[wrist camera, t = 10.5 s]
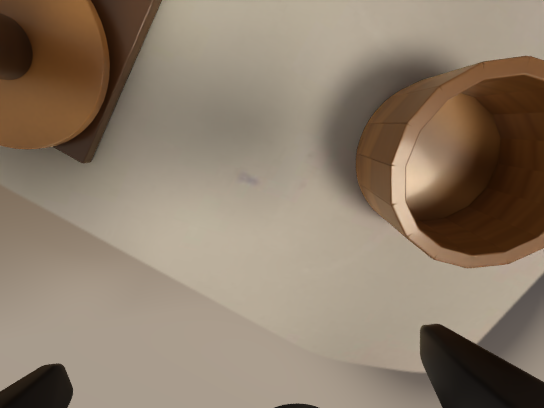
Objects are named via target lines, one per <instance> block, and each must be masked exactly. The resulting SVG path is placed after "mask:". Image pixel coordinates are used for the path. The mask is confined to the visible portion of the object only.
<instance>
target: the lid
mask: <svg viewBox="0 0 544 408" xmlns="http://www.w3.org/2000/svg"><path fill="white" fill-rule="evenodd" d="M109 71H110V61H109V50H108V45H107V40H106V35H105V32H104V29H103V26H102V23H101V20H100V18H99V16H98V13H97V11H96V9H95V7H94V5H93V3H92V2H91V0H0V145H1V146H5V147H10V148H15V149H40V148H47V147H52V146H56V145H59V144H62V143H65V142H67V141H69V140H71V139H72V138H74V137H76V136H77V135H78V134H80V133H81V132H82V131H84V130H85V129H86V128H87V126H88V125H89V124H90V123H91V122H92V121H93V119H94V118H95V116H96V115H97V114H98V112H99V110H100V108H101V106H102V104H103V101H104V98H105V95H106V92H107V88H108V82H109Z"/></svg>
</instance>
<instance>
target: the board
mask: <svg viewBox="0 0 544 408" xmlns="http://www.w3.org/2000/svg"><path fill="white" fill-rule="evenodd" d="M161 1H162V0H91V2H92V3H93V5H94V7H95V9H96V11H97V13H98V16H99V18H100V20H101V23H102V26H103V29H104V32H105V35H106V40H107V45H108V50H109V61H110V71H109V82H108V88H107V92H106V95H105V98H104V101H103V104H102V106H101V108H100V110H99V112H98V114H97V115H96V116H95V118H94V119H93V121H92V122H91V123H90V124H89V125H88V126H87V128H86V129H85V130H84V131H82V132H81V133H80V134H78V135H77V136H76V137H74V138H72V139H71V140H69V141H67V142H65V143H62V144H59V145H56V146H52V147H54V148H56V149H58V150H59V151H61V152H63V153H65V154H67V155H68V156H70V157H72V158H74V159H76V160H77V161H79V162H81V163H88V162H91V160H92V158H93V156H94V153H95V151H96V149H97V147H98V144H99V142H100V140H101V137H102V135H103V133H104V131H105V128H106V126H107V124H108V122H109V119H110V117H111V115H112V112H113V110H114V108H115V106H116V103H117V101H118V99H119V96H120V94H121V92H122V90H123V87H124V85H125V83H126V80H127V78H128V76H129V74H130V71H131V69H132V67H133V64H134V62H135V60H136V58H137V55H138V53H139V51H140V49H141V46H142V44H143V42H144V39H145V37H146V35H147V33H148V30H149V28H150V26H151V23H152V21H153V19H154V17H155V14H156V12H157V10H158V7H159V5H160V3H161Z"/></svg>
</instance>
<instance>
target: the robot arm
mask: <svg viewBox="0 0 544 408" xmlns="http://www.w3.org/2000/svg"><path fill="white" fill-rule="evenodd" d="M420 356H421V360H422V363H423V366H424V368H425V370H426V372H427V375H428V377H429V379H430V381H431V383H432V385H433V388H434V390H435V392H436V394H437V396H438V398H439V401H440V403H441V405H442V407H443V408H544V382H543V381H541V380H539V379H537V378H535V377H534V376H532V375H530V374H528V373H527V372H525V371H523V370H521V369H519V368H518V367H516V366H514V365H512V364H511V363H509V362H507V361H505V360H503V359H502V358H499V357H498V356H496V355H494V354H493V353H491V352H489V351H487V350H485V349H483V348H482V347H480V346H478V345H477V344H475V343H473V342H471V341H469V340H468V339H466V338H464V337H462V336H460V335H459V334H457V333H455V332H453V331H451V330H450V329H448V328H446V327H444V326H442V325H440V324H430V325H423V326H422V327H421V329H420ZM72 395H73V388H72V385H71V382H70V380H69V377H68V375H67V372H66V370H65V367H64V366H63V365H62V364H49V365H44V366H41V367H40V368H38V369H36V370H35V371H33V372H31V373H30V374H28V375H27V376H25V377H23V378H22V379H20V380H18V381H17V382H15V383H13V384H12V385H10V386H9V387H7V388H5V389H4V390H2V391H0V408H67V407H68V405H69V403H70V401H71V399H72Z"/></svg>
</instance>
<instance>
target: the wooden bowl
mask: <svg viewBox="0 0 544 408" xmlns="http://www.w3.org/2000/svg"><path fill="white" fill-rule="evenodd" d="M356 173H357V179H358V183H359V186H360V189H361V191H362V194H363V195H364V197H365V199H366V200H367V202H368V203H369V204H370V206H371V207H372V209H373V210H374V211H376V212H377V213H378V214H379V215H380V216H381V217H383V218H384V219H385V220H386V221H387V222H388V223H390V224H391V225H392V226H393V227H394V228H395V229H397V230H398V231H399V232H400V233H401V234H402V235H404V236H405V237H406V238H407V239H408V240H410V241H411V242H412V243H413V244H415V245H416V246H417V247H418V248H420V249H421V250H422V251H423V252H425V253H426V254H427V255H428V256H429V257H431V258H433V259H434V260H438V261H441V262H445V263H449V264H453V265H457V266H460V267H464V268H476V267H486V266H495V265H505V264H510V263H512V262H514V261H516V260H518V259H521V258H523V257H525V256H527V255H530V254H532V253H534V252H536V251H538V250H541V249H543V248H544V60H541V59H538V58H535V57H532V56H521V57H513V58H506V59H499V60H491V61H484V62H480V63H477V64H474V65H470V66H467V67H464V68H460V69H457V70H454V71H450V72H447V73H444V74H440V75H437V76H434V77H430V78H427V79H423V80H421V81H418V82H416V83H414V84H413V85H410V86H408V87H406V88H404V89H402V90H400V91H399V92H397V93H395V94H394V95H392V96H391V97H390V98H389V99H387V100H386V101H385V102H384V103H383V104H382V105H381V106H380V107H379V108H378V109H377V110H376V111H375V113H374V114H373V115H372V117H371V118H370V120H369V121H368V123H367V125H366V127H365V128H364V130H363V133H362V135H361V138H360V141H359V144H358V148H357V154H356Z"/></svg>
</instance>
